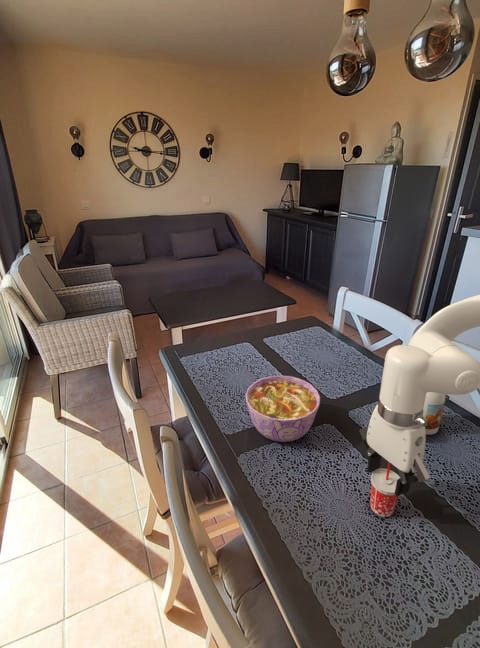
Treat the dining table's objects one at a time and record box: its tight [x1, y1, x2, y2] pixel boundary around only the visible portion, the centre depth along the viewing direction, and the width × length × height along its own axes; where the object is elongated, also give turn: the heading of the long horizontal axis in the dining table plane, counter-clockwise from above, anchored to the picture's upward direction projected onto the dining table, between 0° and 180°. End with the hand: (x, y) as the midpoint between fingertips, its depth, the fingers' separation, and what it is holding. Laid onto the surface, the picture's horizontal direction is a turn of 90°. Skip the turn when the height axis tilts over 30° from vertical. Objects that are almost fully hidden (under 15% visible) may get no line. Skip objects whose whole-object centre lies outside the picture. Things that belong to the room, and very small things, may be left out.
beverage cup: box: [369, 461, 400, 518], centre depth 75 cm, size 6×6×14 cm
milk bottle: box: [423, 392, 446, 436], centre depth 97 cm, size 8×8×20 cm
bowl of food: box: [244, 374, 321, 443], centre depth 99 cm, size 20×20×12 cm
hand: (386, 479), depth 74 cm, fingers closed on beverage cup, 6 cm apart
